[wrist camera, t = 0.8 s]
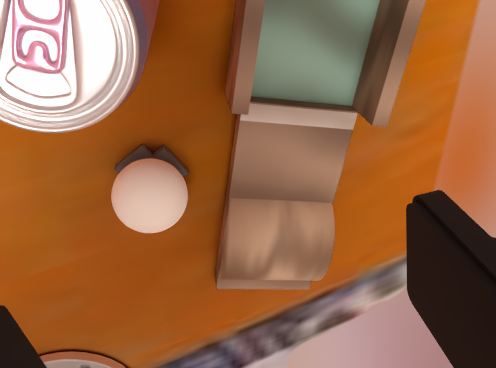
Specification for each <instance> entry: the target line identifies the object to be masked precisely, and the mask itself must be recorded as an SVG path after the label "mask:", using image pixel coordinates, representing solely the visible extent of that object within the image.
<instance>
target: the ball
mask: <svg viewBox="0 0 496 368" xmlns="http://www.w3.org/2000/svg"><path fill="white" fill-rule="evenodd" d="M111 200H112V205H113V209H114V211H115V213H116V215H117V217H118V218H119V219H120V220H121V221H122V222H123V223H124V224H125V225H126V226H127V227H129V228H131V229H133V230H135V231H138V232H142V233H157V232H161V231H164V230H166V229H168V228H170V227H171V226H173V225H174V224H175V223H176V222H177V221H178V220H179V219H180V218H181V216H182V215H183V213H184V211H185V209H186V206H187V201H188V190H187V185H186V182H185V180H184V178H183V176H182V175H181V173H180V172H179V171H178V170H177V169H176V168H175V167H174V166H172V165H171V164H169V163H167V162H165V161H162V160H159V159H152V158H147V159H141V160H137V161H134V162H132V163H130V164H129V165H127V166H126V167H125V168H124V169H122V170H121V172H120V173H119V174H118V175H117V177H116V179H115V181H114V184H113V187H112V192H111Z"/></svg>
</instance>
